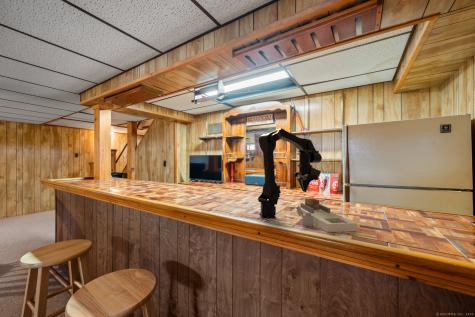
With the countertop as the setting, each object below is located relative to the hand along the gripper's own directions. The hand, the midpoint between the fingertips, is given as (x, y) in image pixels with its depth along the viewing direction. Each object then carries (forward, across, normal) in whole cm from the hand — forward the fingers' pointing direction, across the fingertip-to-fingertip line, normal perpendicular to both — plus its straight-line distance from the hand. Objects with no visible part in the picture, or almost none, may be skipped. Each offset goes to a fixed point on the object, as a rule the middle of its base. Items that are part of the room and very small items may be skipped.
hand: (304, 191), depth 110 cm
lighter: (+10, -23, +11) cm, 27 cm away
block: (+7, -8, 0) cm, 11 cm away
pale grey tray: (+10, -18, 0) cm, 21 cm away
